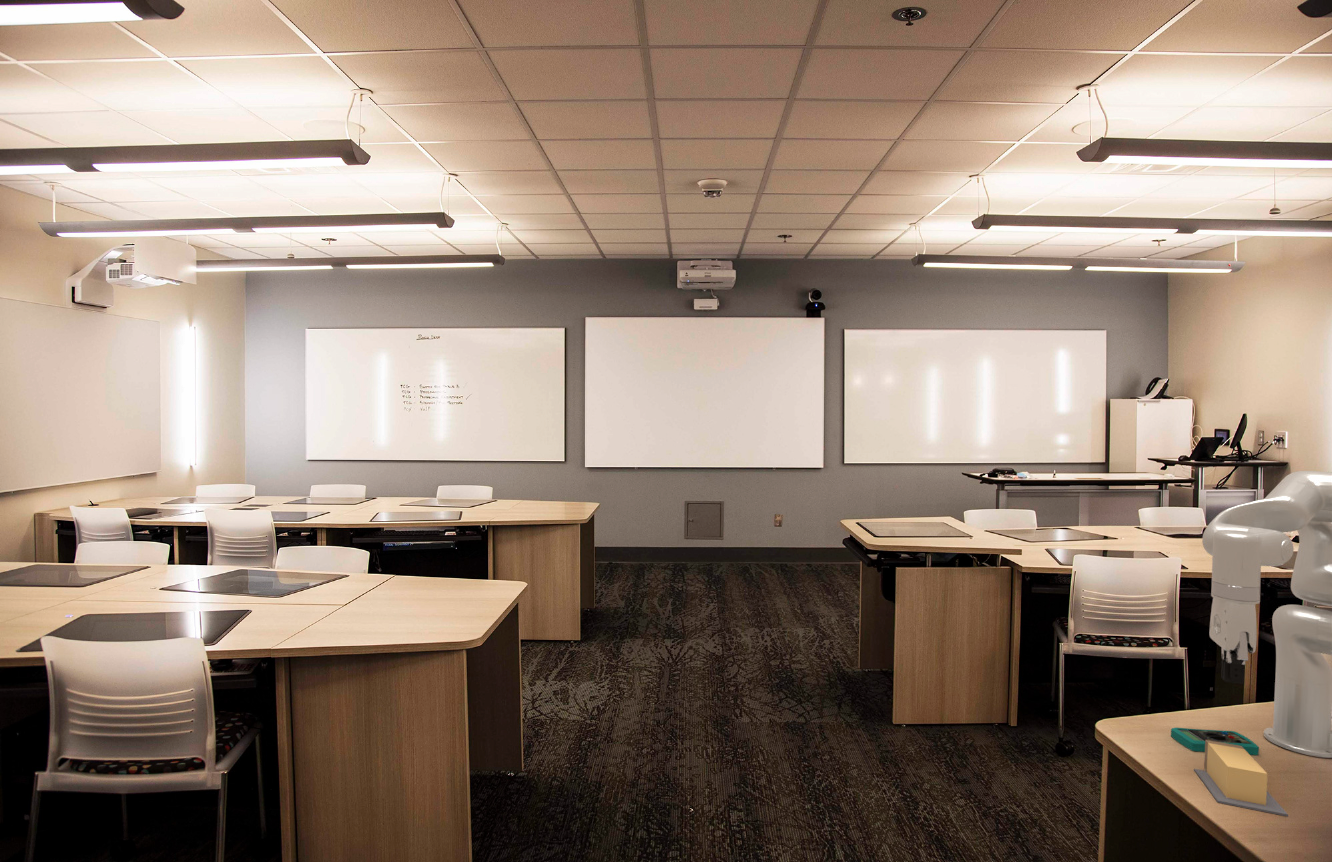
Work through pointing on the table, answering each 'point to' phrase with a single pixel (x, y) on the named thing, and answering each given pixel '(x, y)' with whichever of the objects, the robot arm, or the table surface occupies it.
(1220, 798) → the mat
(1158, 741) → the table surface
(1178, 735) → the digital multimeter
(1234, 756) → the ochre block
